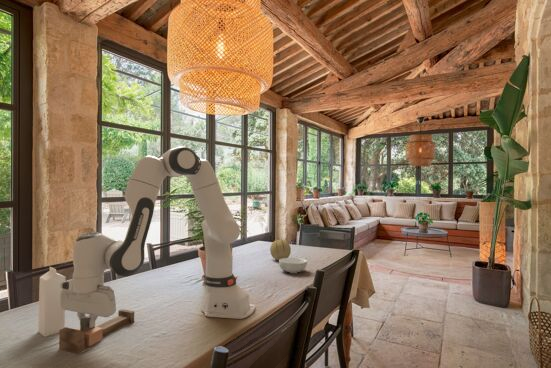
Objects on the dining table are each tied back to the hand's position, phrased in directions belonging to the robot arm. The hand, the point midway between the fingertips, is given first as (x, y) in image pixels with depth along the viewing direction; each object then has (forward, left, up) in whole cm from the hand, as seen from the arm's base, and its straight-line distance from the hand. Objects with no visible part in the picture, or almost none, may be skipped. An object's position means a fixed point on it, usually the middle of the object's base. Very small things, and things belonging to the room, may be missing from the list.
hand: (87, 326), depth 104 cm
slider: (0, 0, -5) cm, 5 cm away
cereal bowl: (-40, -108, -5) cm, 116 cm away
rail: (0, -5, -5) cm, 8 cm away
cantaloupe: (-24, -134, -5) cm, 137 cm away
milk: (+18, -1, -5) cm, 19 cm away
